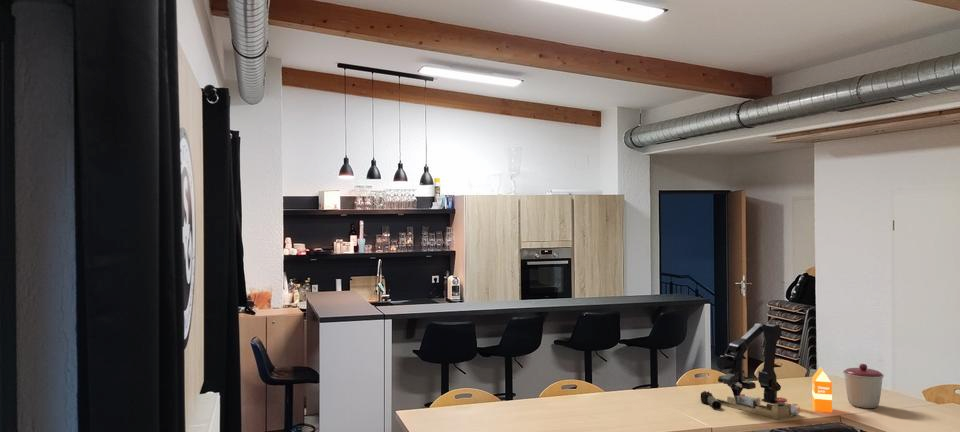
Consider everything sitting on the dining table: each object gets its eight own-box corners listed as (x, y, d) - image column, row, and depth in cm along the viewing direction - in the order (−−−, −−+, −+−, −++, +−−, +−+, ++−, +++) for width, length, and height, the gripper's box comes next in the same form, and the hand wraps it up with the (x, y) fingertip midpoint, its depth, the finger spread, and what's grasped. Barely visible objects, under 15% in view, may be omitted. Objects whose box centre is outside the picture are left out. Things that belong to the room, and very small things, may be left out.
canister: (888, 405, 342) (888, 363, 342) (879, 412, 329) (879, 369, 329) (848, 399, 354) (848, 358, 354) (838, 406, 341) (838, 364, 341)
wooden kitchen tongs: (736, 398, 355) (736, 381, 355) (800, 415, 324) (800, 397, 324) (716, 403, 347) (716, 385, 347) (779, 420, 316) (779, 401, 316)
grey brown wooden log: (721, 409, 335) (721, 398, 335) (707, 409, 336) (707, 398, 336) (710, 400, 353) (710, 389, 353) (697, 400, 353) (697, 389, 353)
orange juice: (829, 407, 338) (829, 367, 338) (832, 412, 329) (832, 371, 330) (812, 406, 340) (811, 366, 341) (814, 411, 332) (814, 370, 332)
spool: (742, 405, 342) (742, 393, 342) (760, 410, 334) (760, 398, 334) (735, 407, 339) (735, 395, 339) (753, 411, 331) (752, 399, 331)
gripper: (710, 366, 346) (710, 396, 346) (741, 373, 330) (741, 405, 330) (725, 364, 352) (725, 394, 352) (756, 371, 336) (756, 402, 336)
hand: (736, 399), depth 342 cm, fingers closed
